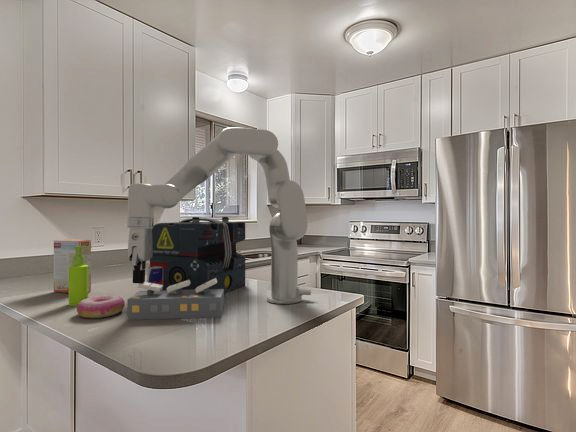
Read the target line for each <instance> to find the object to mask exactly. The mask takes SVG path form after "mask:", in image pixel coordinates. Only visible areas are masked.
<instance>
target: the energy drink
mask: <svg viewBox="0 0 576 432" xmlns="http://www.w3.org/2000/svg"><path fill="white" fill-rule="evenodd" d="M146 272H147V273H146V275H147V276H146V279H147V281H146V282H148V283H154V284H159V285H163V267H160V266H155V267H150V266H148V267H147V271H146ZM162 290H163V289H162ZM146 291H148V290H147V289H146Z"/></svg>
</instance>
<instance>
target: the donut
mask: <svg viewBox="0 0 576 432" xmlns="http://www.w3.org/2000/svg"><path fill="white" fill-rule="evenodd" d="M125 304H126V302H125V300H124V298H123V297H121V296H120V295H115V294H113V295H112V294H110V295H109V294H106V295H104V294H103V295H96V296H90V297H88V298H87V299H84V300H82V301H81V302H80V303H79V304H78V305H77V306H76V312H77V314H78V316H80V317H82V318H85V319H102V318H103V317H104V318H109V317H111V316H115V315H117V314H119V313H120V312H121V311H123V310H124V308H125V306H126V305H125Z"/></svg>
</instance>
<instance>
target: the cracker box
mask: <svg viewBox="0 0 576 432" xmlns="http://www.w3.org/2000/svg"><path fill="white" fill-rule="evenodd" d="M75 246H90V247H91V248H81V255H84V265H88V293H90V292H92V240H90V239H55V240H53V292H54V293H64V294H69V266H72V265H73V256H74V255H76V249H74V248H73V247H75Z"/></svg>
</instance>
